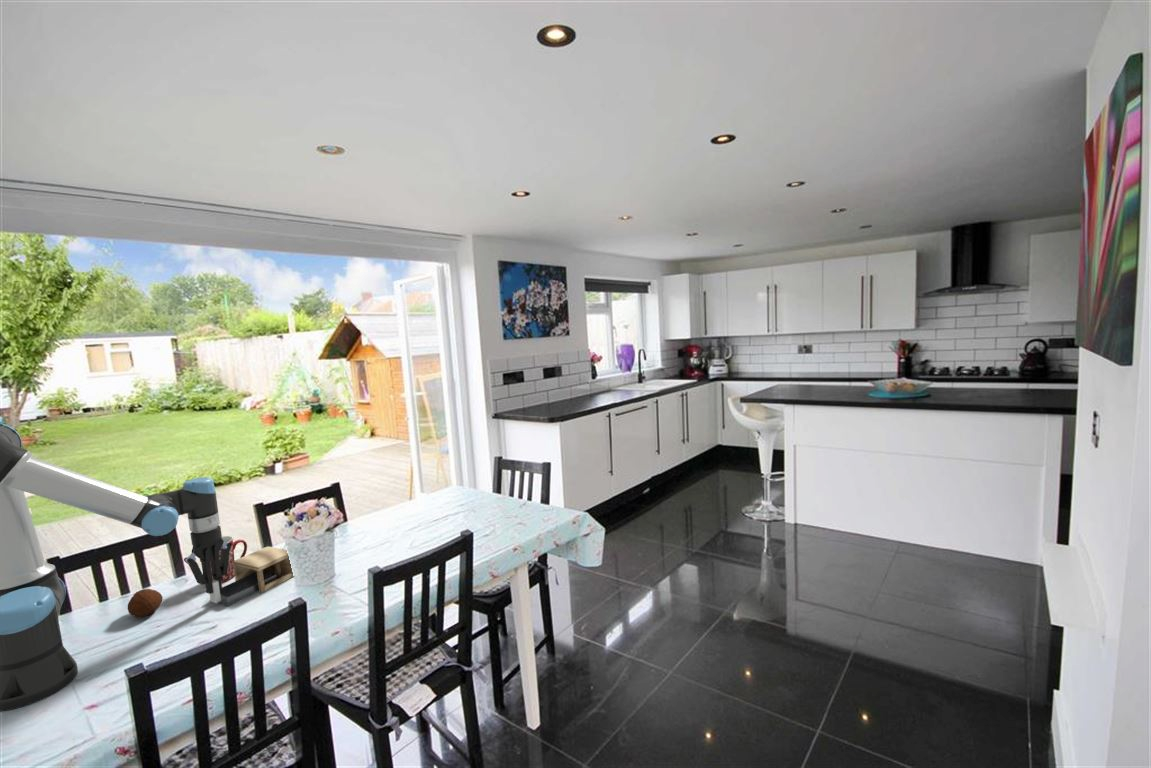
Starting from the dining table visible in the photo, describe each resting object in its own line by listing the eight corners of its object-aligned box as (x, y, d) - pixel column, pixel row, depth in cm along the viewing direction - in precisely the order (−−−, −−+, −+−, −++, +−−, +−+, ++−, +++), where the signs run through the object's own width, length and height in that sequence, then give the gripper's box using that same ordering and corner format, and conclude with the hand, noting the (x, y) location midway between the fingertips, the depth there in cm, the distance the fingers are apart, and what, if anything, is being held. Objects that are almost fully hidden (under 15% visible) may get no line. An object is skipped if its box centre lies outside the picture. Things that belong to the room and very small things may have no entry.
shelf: (261, 593, 164) (258, 567, 163) (236, 585, 170) (232, 561, 169) (295, 575, 175) (292, 551, 174) (270, 569, 181) (267, 546, 180)
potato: (156, 601, 163) (153, 579, 162) (170, 610, 157) (167, 587, 156) (122, 615, 155) (118, 592, 155) (136, 625, 150) (132, 601, 149)
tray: (228, 608, 157) (226, 598, 157) (210, 602, 161) (209, 593, 161) (277, 583, 171) (276, 574, 171) (260, 578, 175) (259, 570, 175)
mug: (208, 588, 170) (202, 549, 168) (205, 578, 177) (200, 541, 175) (252, 574, 178) (247, 537, 176) (248, 566, 185) (243, 530, 183)
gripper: (188, 538, 148) (200, 614, 151) (234, 521, 160) (244, 592, 162) (174, 535, 151) (185, 609, 154) (220, 519, 163) (230, 588, 166)
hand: (216, 600), depth 158 cm, fingers closed
